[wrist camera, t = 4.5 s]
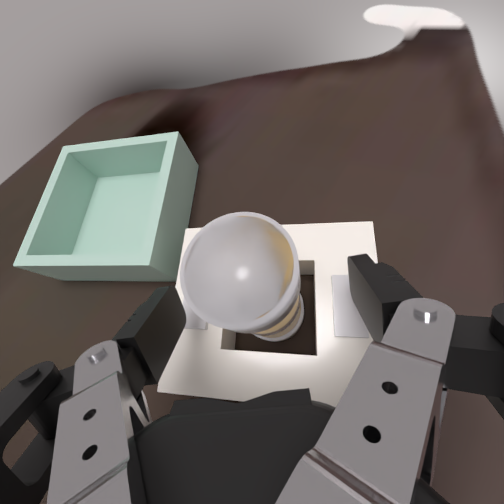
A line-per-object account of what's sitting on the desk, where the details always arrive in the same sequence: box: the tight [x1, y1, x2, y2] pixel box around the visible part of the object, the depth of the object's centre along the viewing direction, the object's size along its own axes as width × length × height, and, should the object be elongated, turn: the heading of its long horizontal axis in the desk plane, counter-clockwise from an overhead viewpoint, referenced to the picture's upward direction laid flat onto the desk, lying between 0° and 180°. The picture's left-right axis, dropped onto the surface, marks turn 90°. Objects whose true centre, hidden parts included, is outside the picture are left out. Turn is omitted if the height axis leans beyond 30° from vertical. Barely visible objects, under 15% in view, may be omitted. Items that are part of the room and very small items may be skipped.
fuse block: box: [157, 221, 378, 407], centre depth 16 cm, size 12×10×3 cm
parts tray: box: [13, 132, 199, 282], centre depth 21 cm, size 11×11×4 cm
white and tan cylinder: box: [180, 212, 304, 342], centre depth 13 cm, size 4×4×10 cm
